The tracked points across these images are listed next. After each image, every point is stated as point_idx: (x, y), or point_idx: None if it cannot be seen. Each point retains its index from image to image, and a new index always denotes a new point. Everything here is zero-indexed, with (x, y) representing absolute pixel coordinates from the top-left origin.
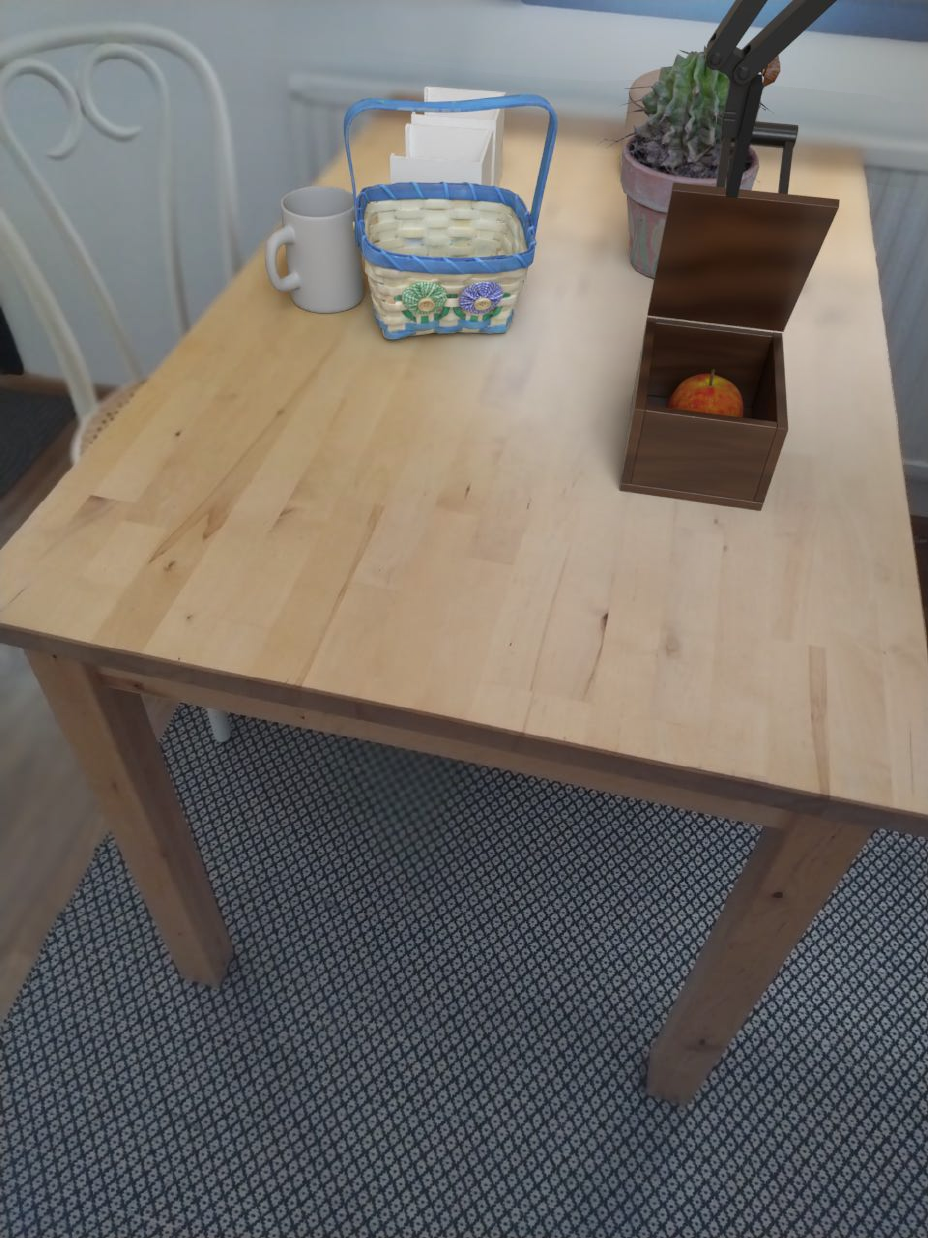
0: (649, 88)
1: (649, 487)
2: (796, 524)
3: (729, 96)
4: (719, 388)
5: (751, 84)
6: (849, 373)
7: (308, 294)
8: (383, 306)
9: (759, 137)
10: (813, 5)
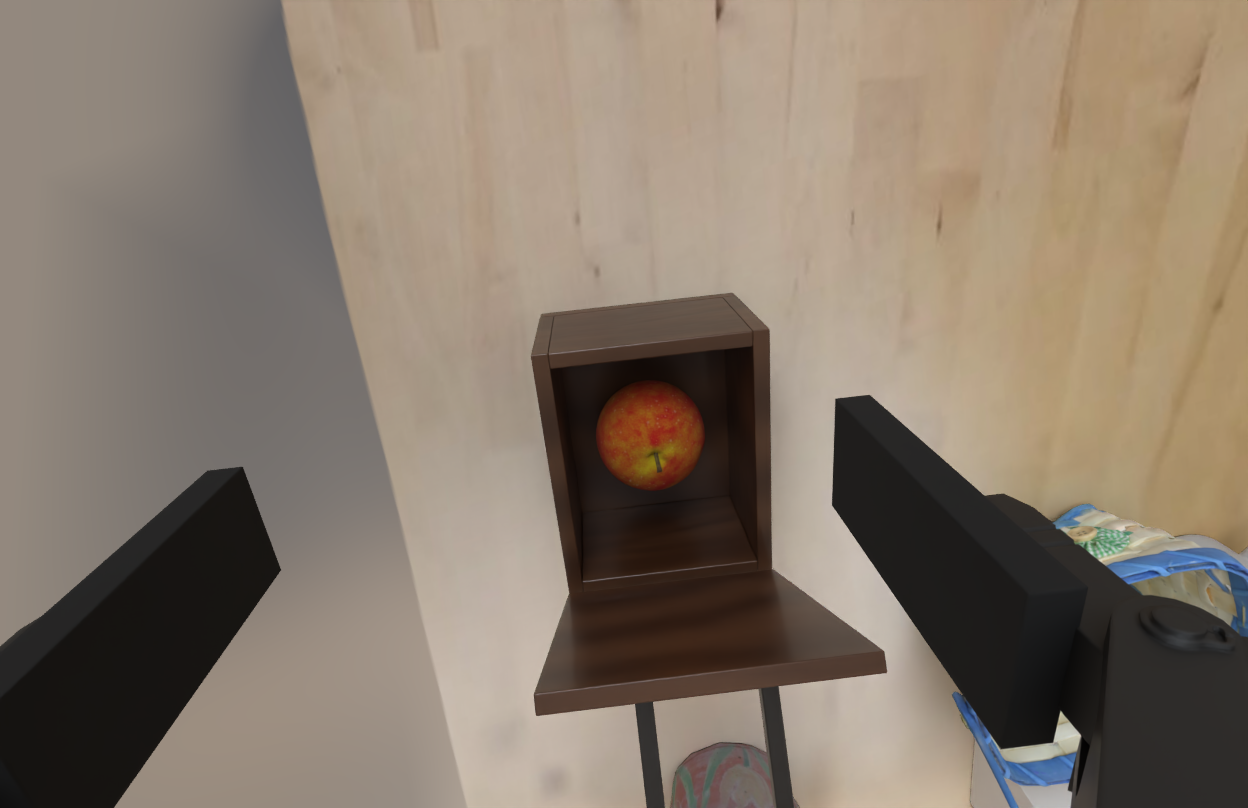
0: None
1: (696, 300)
2: (491, 302)
3: (1114, 577)
4: (642, 446)
5: (1073, 625)
6: (467, 633)
7: (1219, 548)
8: (1136, 522)
9: None
10: None
